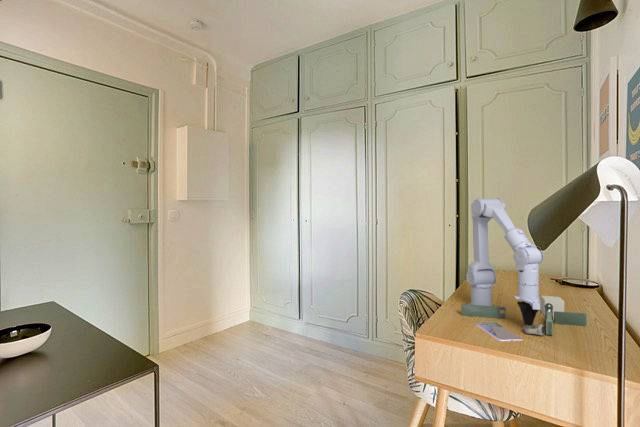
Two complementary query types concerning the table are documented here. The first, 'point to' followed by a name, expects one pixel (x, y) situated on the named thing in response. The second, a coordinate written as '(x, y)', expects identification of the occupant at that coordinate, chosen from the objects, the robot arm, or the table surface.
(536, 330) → the wristwatch
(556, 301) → the off-white chamfered cube
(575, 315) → the hinge post
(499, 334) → the mobile phone
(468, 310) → the latch stile
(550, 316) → the sage green stepped bar
